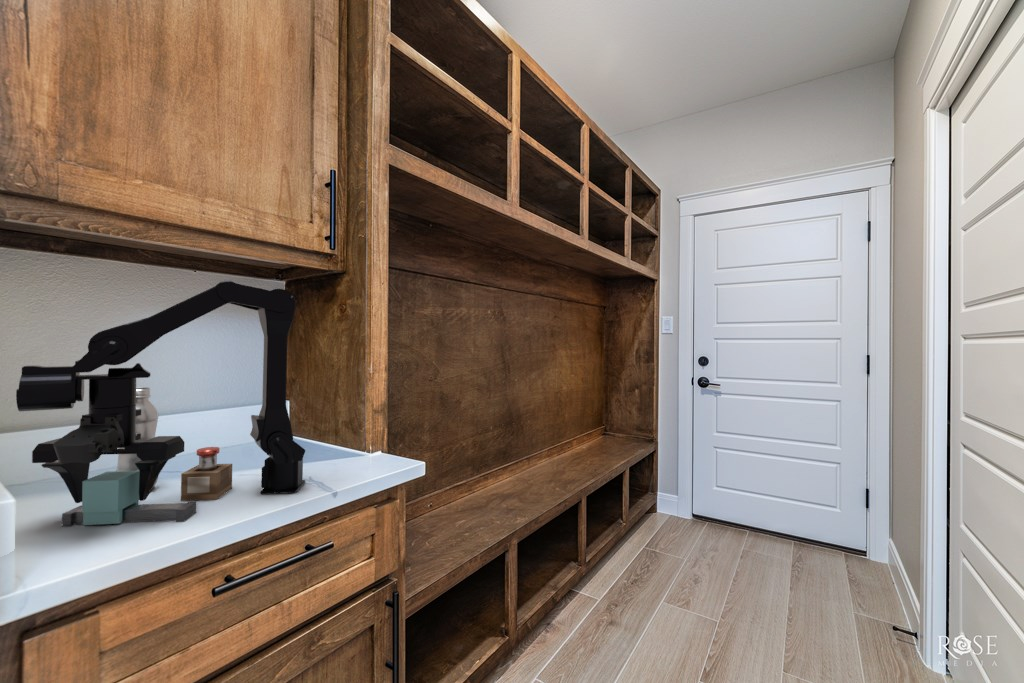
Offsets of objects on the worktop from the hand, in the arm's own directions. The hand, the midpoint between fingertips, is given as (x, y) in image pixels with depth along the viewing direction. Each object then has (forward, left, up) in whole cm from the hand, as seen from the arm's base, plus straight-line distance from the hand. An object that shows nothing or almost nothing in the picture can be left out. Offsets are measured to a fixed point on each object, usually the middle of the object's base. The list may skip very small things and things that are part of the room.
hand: (111, 501), depth 71 cm
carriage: (0, 0, -3) cm, 3 cm away
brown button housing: (-9, -11, -3) cm, 15 cm away
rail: (-3, 0, -3) cm, 4 cm away
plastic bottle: (+5, -14, -3) cm, 15 cm away
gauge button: (-9, -11, 0) cm, 14 cm away
